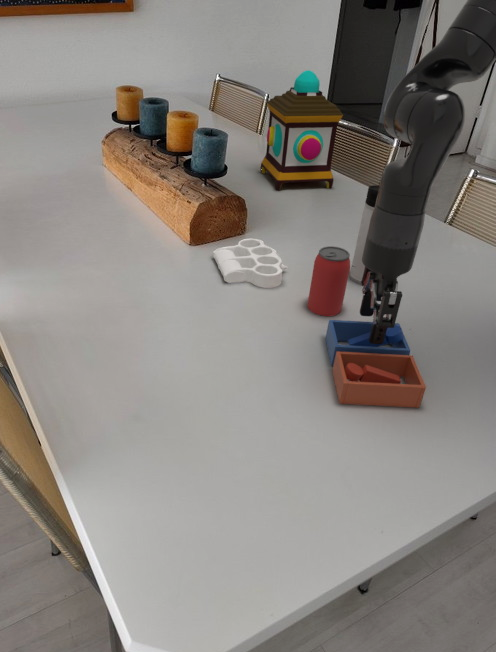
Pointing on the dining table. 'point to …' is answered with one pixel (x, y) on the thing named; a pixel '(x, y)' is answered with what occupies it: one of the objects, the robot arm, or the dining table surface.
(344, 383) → the terracotta bin
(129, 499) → the dining table surface
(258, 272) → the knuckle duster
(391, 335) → the blue spoon
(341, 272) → the beer can
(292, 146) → the decorative lantern
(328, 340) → the blue bin
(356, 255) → the travel mug
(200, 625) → the dining table surface
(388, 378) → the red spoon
